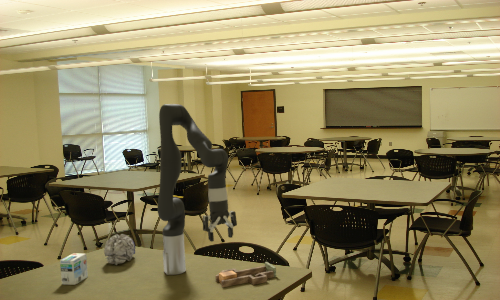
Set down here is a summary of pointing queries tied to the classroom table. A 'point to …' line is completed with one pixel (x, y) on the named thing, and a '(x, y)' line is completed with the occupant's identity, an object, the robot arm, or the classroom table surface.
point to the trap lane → (250, 275)
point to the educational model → (119, 249)
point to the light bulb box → (73, 268)
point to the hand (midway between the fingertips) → (221, 239)
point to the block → (227, 275)
